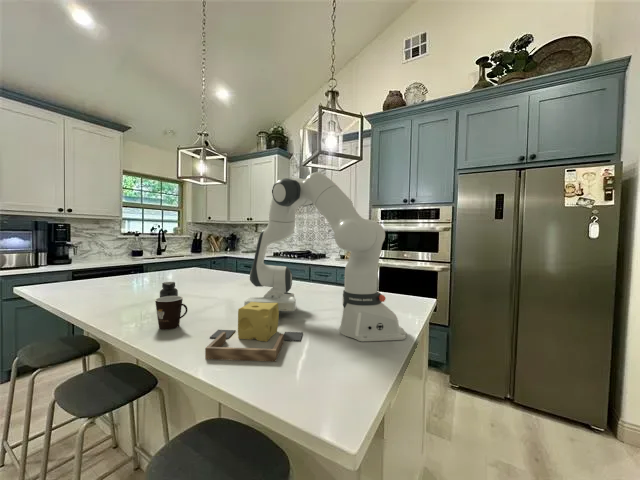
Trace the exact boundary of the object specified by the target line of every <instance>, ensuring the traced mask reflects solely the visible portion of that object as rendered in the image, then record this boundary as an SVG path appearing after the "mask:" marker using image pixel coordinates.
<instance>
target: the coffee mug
mask: <svg viewBox="0 0 640 480" xmlns="http://www.w3.org/2000/svg"><path fill="white" fill-rule="evenodd" d="M183 298H184V297H182V296H181V295H178V296H166V297H160V296H159V297H158V298H156V299H154V301H155V308H156V309H155V310H156V314H157V315H156V316H157V317H156V318H157V323H158V329H159V330H162V331H167V330H168V331H169V330H174V329H177V328H179V327H180V323H181V319H182V318H184V317H185V316H186V315H187V313H188V307H187V305H186V304H185V303H183ZM182 307H184V309H185V311H184V313H183V314H182ZM181 314H182V315H181Z"/></svg>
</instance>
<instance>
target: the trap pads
mask: <svg viewBox="0 0 640 480" xmlns="http://www.w3.org/2000/svg"><path fill="white" fill-rule="evenodd" d="M222 332H226V340H229V339H230V338H231V337H232V336H233V334H235V333H236V330H235V329H217V330H216V331H215V332H214V333H212V335H210V336H209V339H211V340H212V339H214V340H215V339H216V338H217V337H218V336H219V335H220V334H221V333H222ZM303 333H304V332H302V331H284V333H283V334H284V341H285V342H301V340H302V336H303V335H304V334H303ZM284 341H283V342H284Z"/></svg>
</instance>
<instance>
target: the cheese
mask: <svg viewBox="0 0 640 480" xmlns="http://www.w3.org/2000/svg"><path fill="white" fill-rule="evenodd" d="M279 314H280V311H279V308H278V303H259V302H250V303H248V304H247V305H245V306H244V305H243V306H241V307H239V308H238V311H237V336H238V337H237V338H238V339H239V340H256V341H258V342H259V341H260V342H265V343H266V342H268V341H269V340H270V339H271V338H272V337H273V336H274V335H275V334H276V333H277V332H278V326H279V320H280V319H279V317H280V315H279Z"/></svg>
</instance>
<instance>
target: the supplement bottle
mask: <svg viewBox="0 0 640 480" xmlns="http://www.w3.org/2000/svg"><path fill="white" fill-rule="evenodd" d="M161 288H162V289H161V290H159V298H160V297H166V296H179V290H178V289H177V288H176V282H175V281H165V282H162V285H161Z"/></svg>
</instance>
